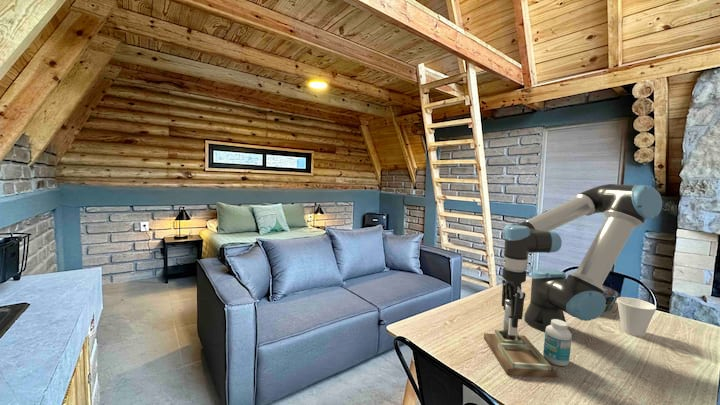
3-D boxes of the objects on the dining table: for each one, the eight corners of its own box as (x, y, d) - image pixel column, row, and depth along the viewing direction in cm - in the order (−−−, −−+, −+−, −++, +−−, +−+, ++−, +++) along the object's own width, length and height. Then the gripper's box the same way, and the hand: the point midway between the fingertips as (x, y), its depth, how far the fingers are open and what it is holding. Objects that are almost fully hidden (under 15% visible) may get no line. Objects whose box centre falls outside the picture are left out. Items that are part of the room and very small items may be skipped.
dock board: (524, 340, 113) (525, 330, 113) (556, 378, 92) (558, 365, 92) (483, 338, 114) (484, 328, 114) (506, 374, 93) (507, 362, 93)
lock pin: (512, 334, 111) (515, 297, 110) (518, 341, 107) (521, 303, 105) (500, 333, 112) (502, 297, 110) (505, 340, 107) (508, 302, 106)
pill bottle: (538, 354, 105) (541, 317, 104) (557, 353, 106) (561, 316, 104) (553, 367, 98) (557, 328, 96) (574, 367, 98) (578, 327, 97)
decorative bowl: (631, 320, 136) (636, 299, 135) (570, 313, 136) (574, 292, 136) (590, 297, 162) (593, 279, 161) (538, 291, 162) (541, 274, 161)
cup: (652, 332, 122) (656, 303, 121) (653, 343, 113) (657, 312, 112) (614, 322, 130) (617, 294, 129) (612, 332, 121) (615, 302, 120)
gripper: (494, 261, 116) (490, 319, 118) (514, 276, 99) (509, 343, 101) (514, 262, 115) (510, 320, 117) (538, 277, 98) (532, 345, 100)
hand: (509, 331), depth 109 cm, fingers closed on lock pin, 4 cm apart
